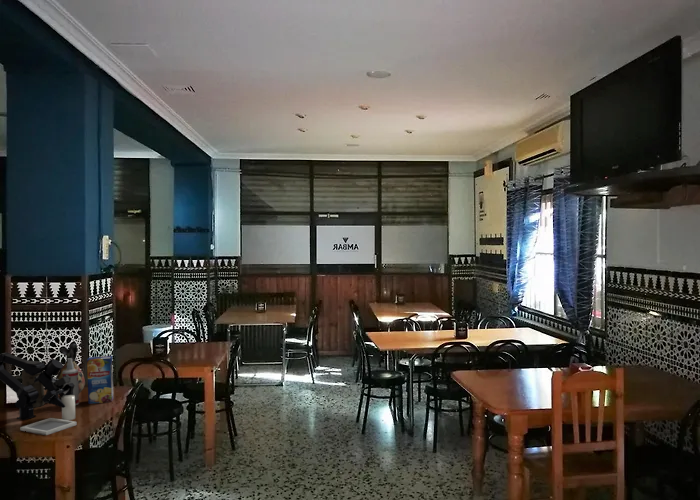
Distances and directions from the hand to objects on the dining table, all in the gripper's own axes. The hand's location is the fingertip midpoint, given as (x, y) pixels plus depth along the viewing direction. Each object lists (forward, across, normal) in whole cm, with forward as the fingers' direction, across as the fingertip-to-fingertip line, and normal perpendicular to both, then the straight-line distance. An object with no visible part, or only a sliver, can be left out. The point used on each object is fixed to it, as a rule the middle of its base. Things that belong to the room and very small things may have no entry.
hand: (70, 404), depth 293 cm
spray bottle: (-6, +25, +16) cm, 30 cm away
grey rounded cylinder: (+4, 0, +6) cm, 7 cm away
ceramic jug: (-13, +40, +23) cm, 48 cm away
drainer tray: (+4, -15, +6) cm, 16 cm away
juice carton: (+3, +32, +7) cm, 33 cm away
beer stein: (-19, +22, +29) cm, 41 cm away
